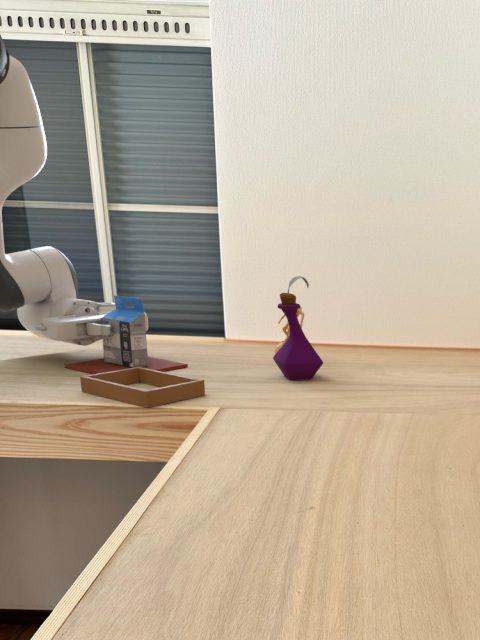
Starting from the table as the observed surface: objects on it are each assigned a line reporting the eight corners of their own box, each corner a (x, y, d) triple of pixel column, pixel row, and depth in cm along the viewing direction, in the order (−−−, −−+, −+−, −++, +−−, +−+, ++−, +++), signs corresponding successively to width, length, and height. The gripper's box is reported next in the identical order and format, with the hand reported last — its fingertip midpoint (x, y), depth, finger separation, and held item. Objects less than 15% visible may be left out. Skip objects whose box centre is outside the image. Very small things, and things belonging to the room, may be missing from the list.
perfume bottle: (284, 382, 130) (282, 277, 124) (273, 374, 137) (270, 274, 130) (323, 380, 133) (323, 277, 127) (310, 372, 140) (310, 274, 133)
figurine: (265, 359, 151) (264, 299, 146) (290, 357, 154) (289, 298, 150) (287, 366, 145) (286, 304, 141) (312, 363, 149) (312, 302, 144)
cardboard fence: (147, 407, 111) (146, 391, 110) (81, 391, 119) (79, 376, 118) (205, 395, 120) (204, 380, 119) (140, 380, 128) (138, 366, 127)
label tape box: (103, 362, 140) (95, 296, 135) (121, 359, 143) (114, 294, 138) (132, 368, 135) (125, 300, 130) (150, 365, 138) (144, 298, 134)
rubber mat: (118, 379, 129) (117, 376, 129) (64, 367, 137) (64, 364, 137) (188, 367, 141) (187, 364, 141) (135, 356, 149) (134, 354, 149)
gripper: (26, 309, 135) (71, 316, 127) (120, 302, 150) (164, 307, 143) (31, 344, 137) (75, 352, 130) (123, 333, 153) (167, 340, 146)
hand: (123, 329), depth 137 cm, fingers closed on label tape box, 4 cm apart
